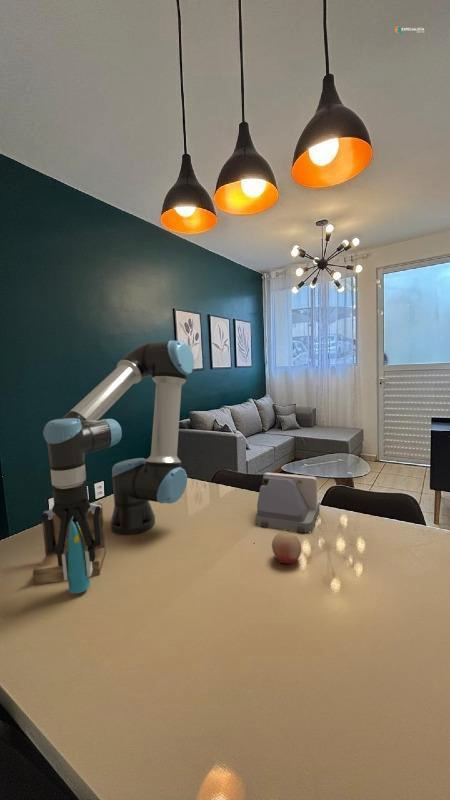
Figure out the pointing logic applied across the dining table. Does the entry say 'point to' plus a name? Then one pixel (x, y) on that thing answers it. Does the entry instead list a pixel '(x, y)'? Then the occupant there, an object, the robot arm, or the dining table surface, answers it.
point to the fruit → (286, 547)
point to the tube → (76, 560)
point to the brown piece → (49, 565)
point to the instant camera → (288, 502)
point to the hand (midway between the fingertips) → (78, 574)
